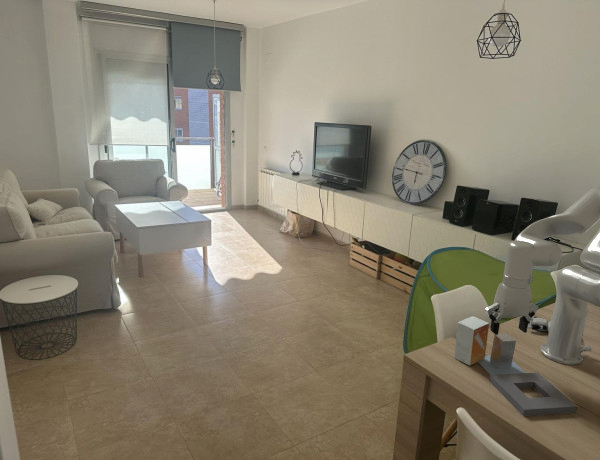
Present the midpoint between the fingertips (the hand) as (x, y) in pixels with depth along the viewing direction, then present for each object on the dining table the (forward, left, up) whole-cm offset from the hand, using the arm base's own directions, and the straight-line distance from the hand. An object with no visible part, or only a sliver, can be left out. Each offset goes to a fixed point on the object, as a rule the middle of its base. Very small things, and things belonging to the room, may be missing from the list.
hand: (508, 331), depth 136 cm
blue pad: (+1, 0, -12) cm, 12 cm away
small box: (+9, -5, -12) cm, 16 cm away
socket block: (+1, +15, -12) cm, 20 cm away
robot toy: (-33, -21, -13) cm, 41 cm away
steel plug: (+1, 0, -12) cm, 12 cm away
